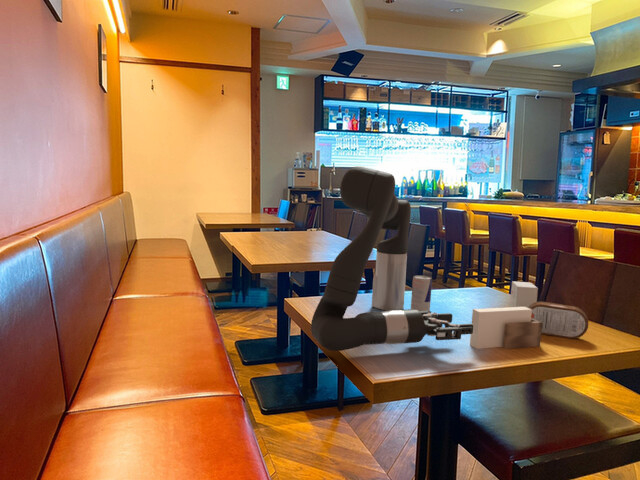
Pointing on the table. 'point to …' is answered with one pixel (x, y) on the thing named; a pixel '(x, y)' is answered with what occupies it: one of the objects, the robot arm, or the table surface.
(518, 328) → the slot box
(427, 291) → the energy drink
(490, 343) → the white rectangular block
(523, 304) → the small box
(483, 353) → the table surface
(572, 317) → the tin
